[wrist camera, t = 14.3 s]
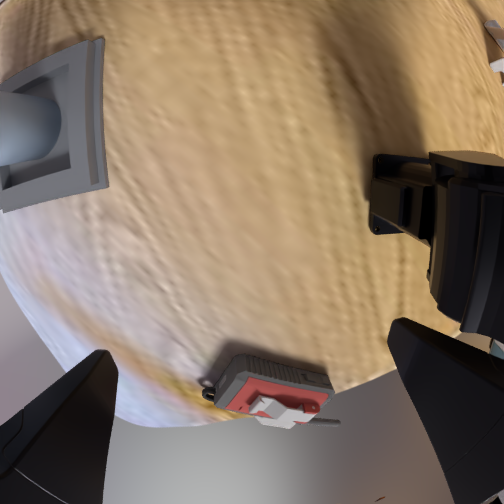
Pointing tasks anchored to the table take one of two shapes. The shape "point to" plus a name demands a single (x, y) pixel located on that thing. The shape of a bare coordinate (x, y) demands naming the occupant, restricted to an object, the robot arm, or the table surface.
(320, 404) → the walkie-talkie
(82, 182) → the grey square recessed dock
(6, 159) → the blue-grey rounded knob
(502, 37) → the portable electronic device stand
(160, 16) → the table surface
